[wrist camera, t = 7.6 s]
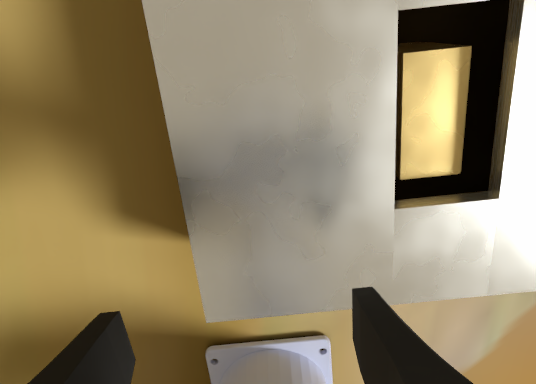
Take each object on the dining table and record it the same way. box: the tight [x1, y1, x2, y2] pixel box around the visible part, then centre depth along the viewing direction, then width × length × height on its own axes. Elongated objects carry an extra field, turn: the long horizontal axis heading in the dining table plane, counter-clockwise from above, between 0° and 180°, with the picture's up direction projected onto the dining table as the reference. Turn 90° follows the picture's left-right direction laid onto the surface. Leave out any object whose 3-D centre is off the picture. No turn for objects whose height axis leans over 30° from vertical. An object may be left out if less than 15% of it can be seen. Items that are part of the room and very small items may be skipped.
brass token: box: [395, 42, 472, 180], centre depth 18 cm, size 5×2×5 cm, turn 6°
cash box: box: [142, 0, 536, 323], centre depth 17 cm, size 16×20×6 cm
